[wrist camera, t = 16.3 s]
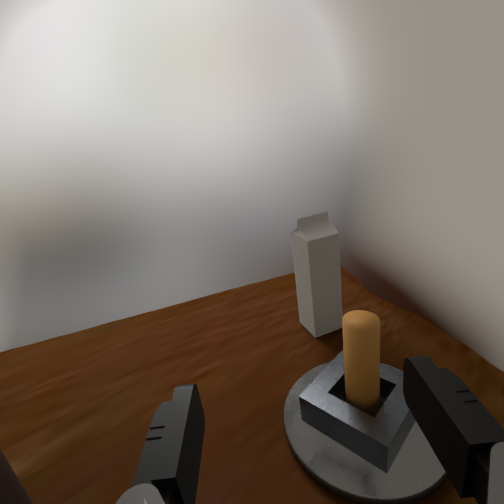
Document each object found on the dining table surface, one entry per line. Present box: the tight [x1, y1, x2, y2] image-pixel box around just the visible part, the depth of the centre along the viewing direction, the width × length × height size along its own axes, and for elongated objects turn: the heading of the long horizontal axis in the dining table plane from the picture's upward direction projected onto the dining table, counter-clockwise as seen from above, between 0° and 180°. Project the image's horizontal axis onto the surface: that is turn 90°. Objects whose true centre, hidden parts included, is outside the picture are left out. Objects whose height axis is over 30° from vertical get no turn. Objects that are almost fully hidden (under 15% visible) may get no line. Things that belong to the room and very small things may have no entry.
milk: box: [291, 212, 343, 338], centre depth 58 cm, size 6×6×22 cm
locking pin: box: [342, 310, 380, 417], centre depth 39 cm, size 4×4×14 cm
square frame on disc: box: [284, 349, 447, 504], centre depth 41 cm, size 20×20×6 cm
